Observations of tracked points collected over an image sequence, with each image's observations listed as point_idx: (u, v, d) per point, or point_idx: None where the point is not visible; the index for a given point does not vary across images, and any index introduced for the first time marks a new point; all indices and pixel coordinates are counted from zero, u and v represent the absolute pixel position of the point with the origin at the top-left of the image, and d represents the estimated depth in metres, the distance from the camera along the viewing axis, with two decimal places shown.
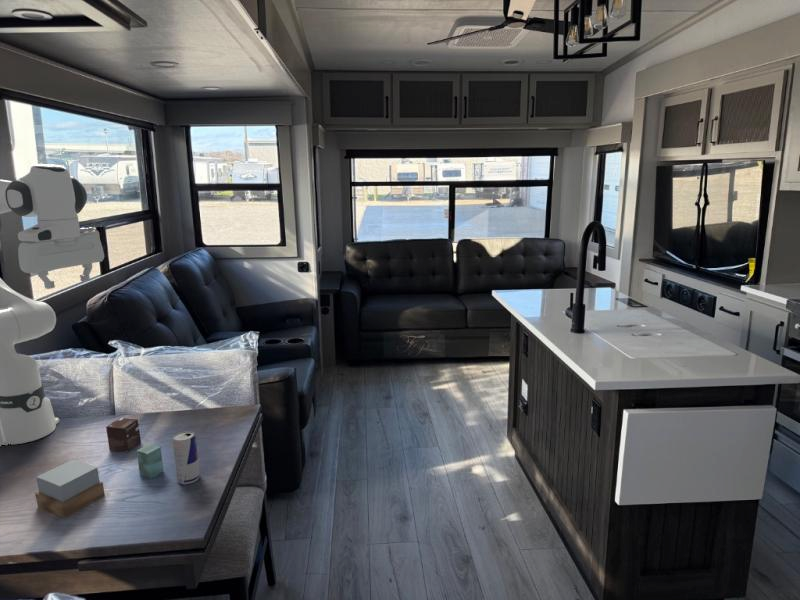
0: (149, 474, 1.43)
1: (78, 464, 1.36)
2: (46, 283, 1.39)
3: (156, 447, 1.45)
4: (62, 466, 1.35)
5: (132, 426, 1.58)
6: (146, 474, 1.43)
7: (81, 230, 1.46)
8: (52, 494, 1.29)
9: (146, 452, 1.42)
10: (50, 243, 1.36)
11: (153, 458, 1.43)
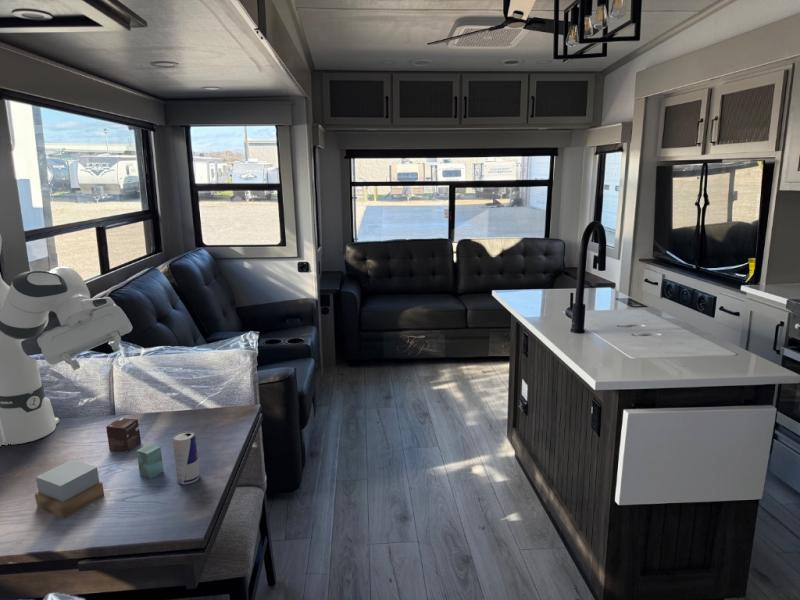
0: (149, 474, 1.43)
1: (77, 464, 1.36)
2: (118, 345, 1.38)
3: (156, 447, 1.45)
4: (61, 466, 1.35)
5: (132, 426, 1.58)
6: (146, 474, 1.43)
7: None
8: (52, 494, 1.29)
9: (146, 452, 1.42)
10: None
11: (153, 458, 1.43)
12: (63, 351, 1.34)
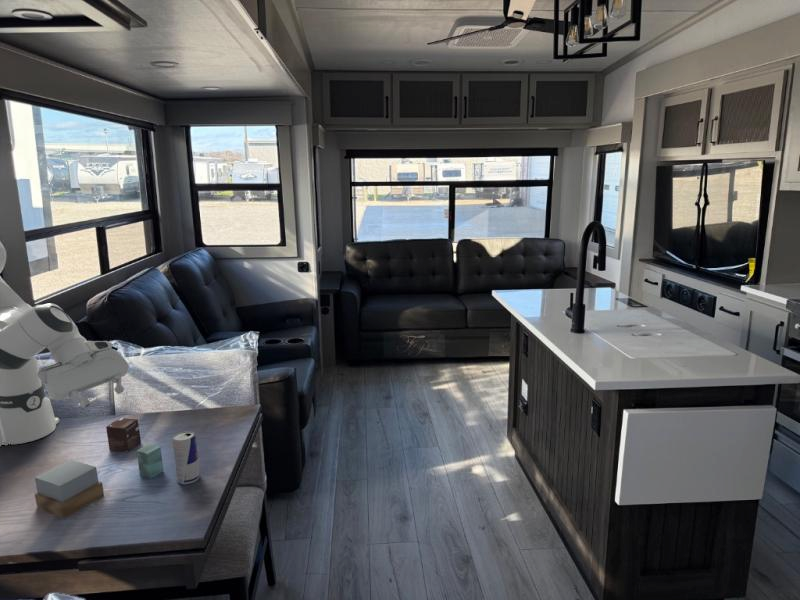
0: (149, 474, 1.43)
1: (76, 464, 1.36)
2: None
3: (156, 447, 1.45)
4: (60, 466, 1.35)
5: (132, 426, 1.58)
6: (146, 474, 1.43)
7: None
8: (51, 494, 1.29)
9: (146, 452, 1.42)
10: None
11: (153, 458, 1.43)
12: (74, 388, 1.40)
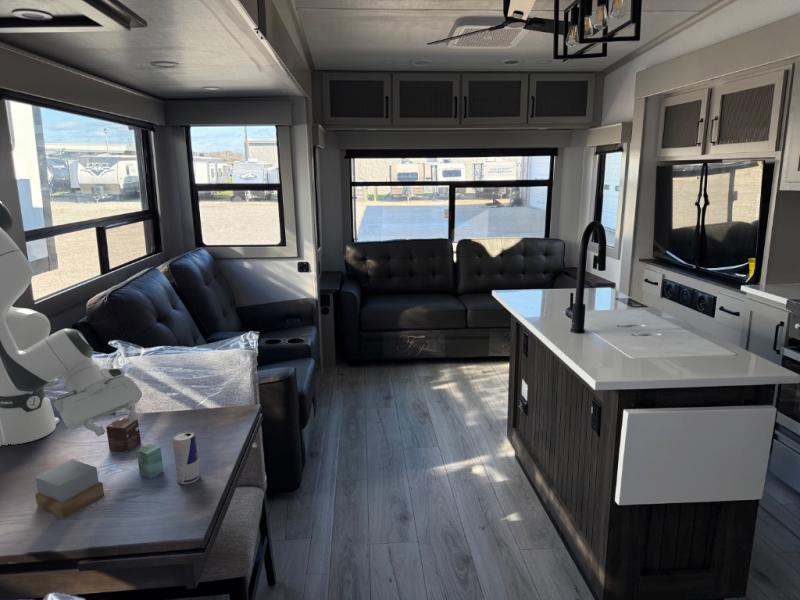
0: (149, 474, 1.43)
1: (77, 464, 1.36)
2: None
3: (156, 447, 1.45)
4: (61, 466, 1.35)
5: (132, 426, 1.58)
6: (146, 474, 1.43)
7: None
8: (51, 494, 1.29)
9: (146, 452, 1.42)
10: None
11: (153, 458, 1.43)
12: (90, 417, 1.41)
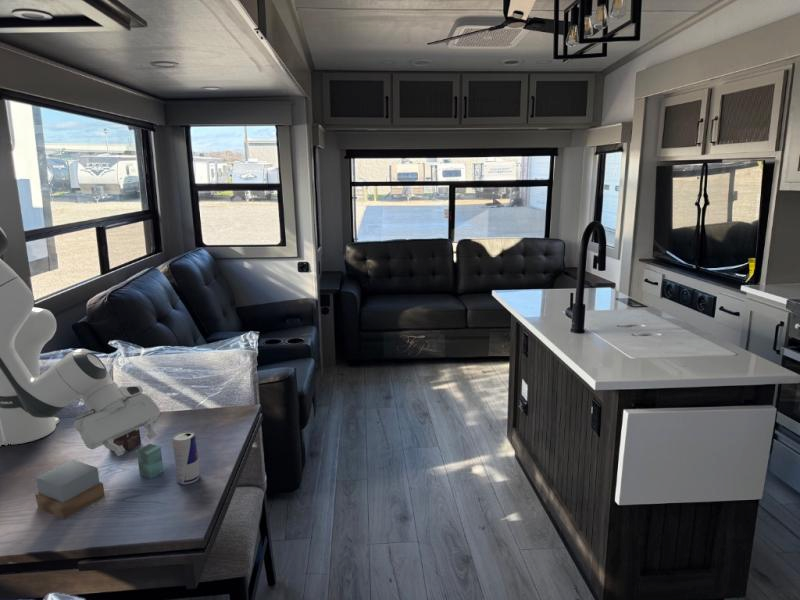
0: (149, 474, 1.43)
1: (78, 464, 1.35)
2: None
3: (156, 447, 1.45)
4: (62, 466, 1.35)
5: None
6: (146, 474, 1.43)
7: None
8: (52, 494, 1.29)
9: (146, 452, 1.42)
10: None
11: (153, 458, 1.43)
12: (109, 436, 1.40)
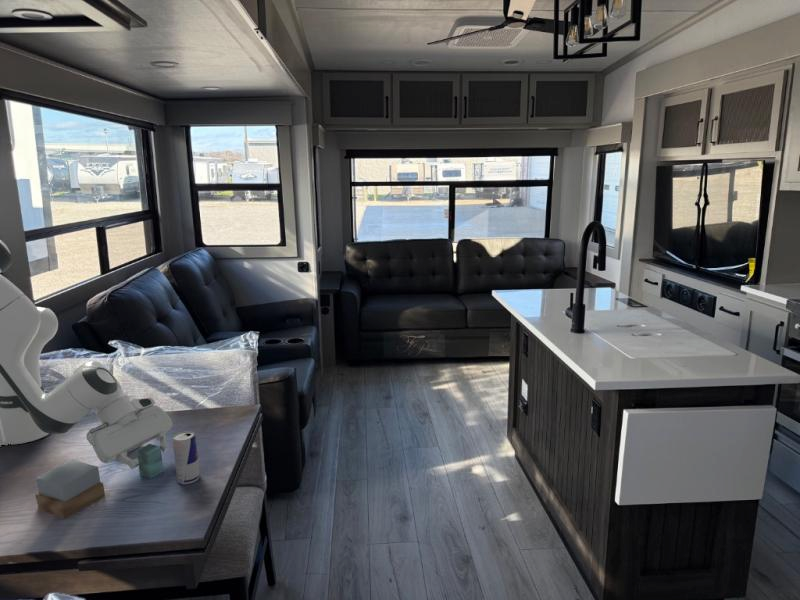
0: (149, 474, 1.43)
1: (78, 464, 1.36)
2: None
3: (156, 447, 1.45)
4: (61, 466, 1.35)
5: None
6: (146, 474, 1.43)
7: None
8: (54, 494, 1.29)
9: (146, 452, 1.42)
10: None
11: (153, 458, 1.43)
12: (123, 450, 1.39)
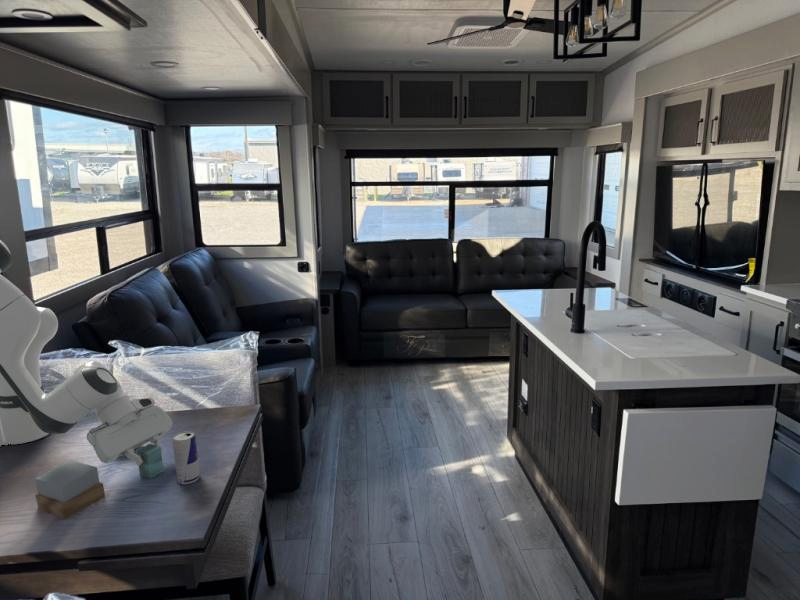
0: (149, 474, 1.43)
1: (77, 465, 1.35)
2: None
3: (156, 447, 1.45)
4: (60, 467, 1.34)
5: None
6: (146, 474, 1.43)
7: None
8: (53, 495, 1.28)
9: (146, 452, 1.42)
10: None
11: (153, 458, 1.43)
12: (123, 450, 1.39)
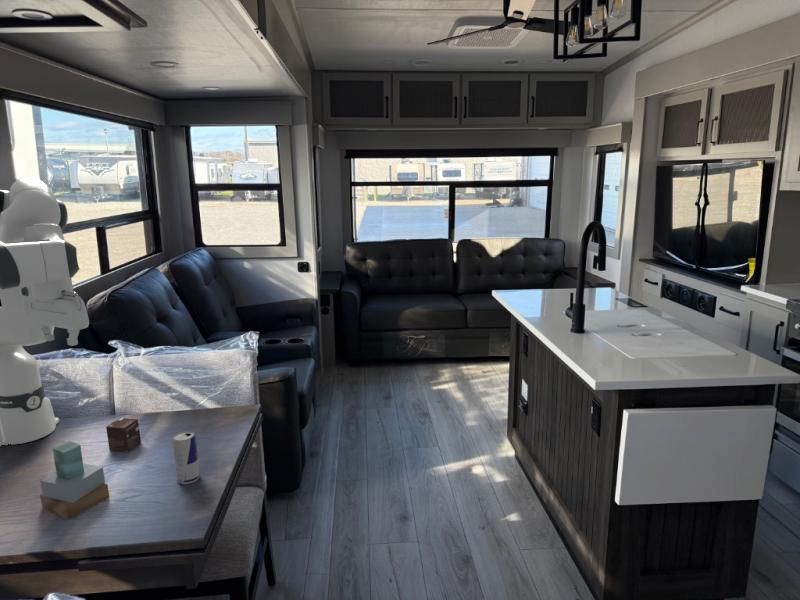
0: (66, 475, 1.29)
1: None
2: None
3: (75, 445, 1.30)
4: None
5: (132, 426, 1.58)
6: (63, 475, 1.29)
7: (64, 293, 1.37)
8: (60, 496, 1.28)
9: (62, 451, 1.28)
10: (31, 300, 1.40)
11: (71, 458, 1.29)
12: None
